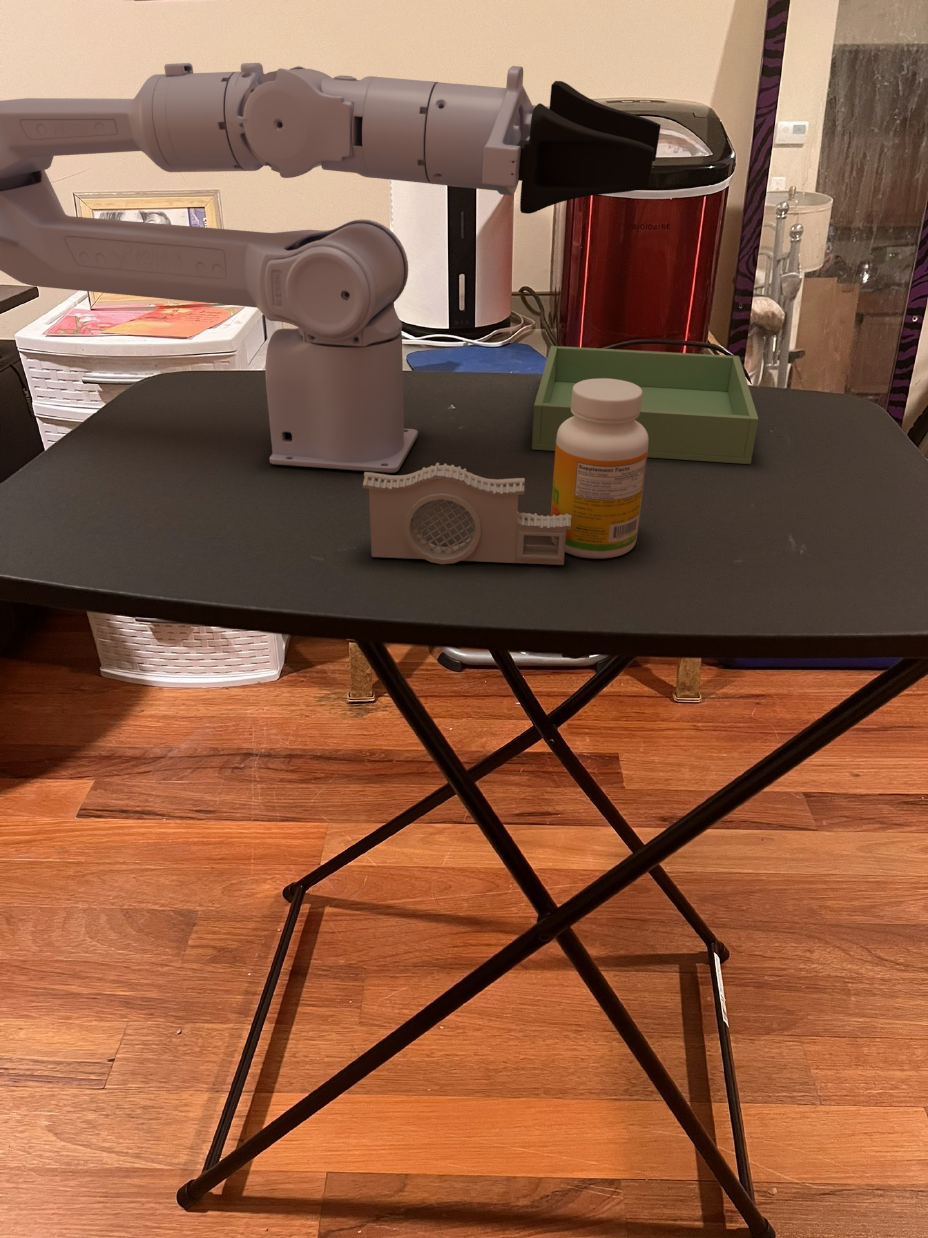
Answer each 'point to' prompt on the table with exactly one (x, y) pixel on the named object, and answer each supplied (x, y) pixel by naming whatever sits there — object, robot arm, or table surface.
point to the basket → (659, 400)
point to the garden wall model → (480, 497)
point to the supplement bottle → (601, 468)
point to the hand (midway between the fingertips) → (655, 154)
